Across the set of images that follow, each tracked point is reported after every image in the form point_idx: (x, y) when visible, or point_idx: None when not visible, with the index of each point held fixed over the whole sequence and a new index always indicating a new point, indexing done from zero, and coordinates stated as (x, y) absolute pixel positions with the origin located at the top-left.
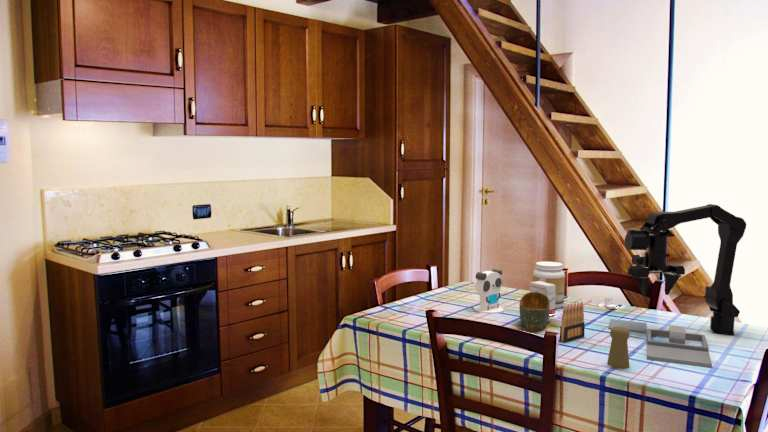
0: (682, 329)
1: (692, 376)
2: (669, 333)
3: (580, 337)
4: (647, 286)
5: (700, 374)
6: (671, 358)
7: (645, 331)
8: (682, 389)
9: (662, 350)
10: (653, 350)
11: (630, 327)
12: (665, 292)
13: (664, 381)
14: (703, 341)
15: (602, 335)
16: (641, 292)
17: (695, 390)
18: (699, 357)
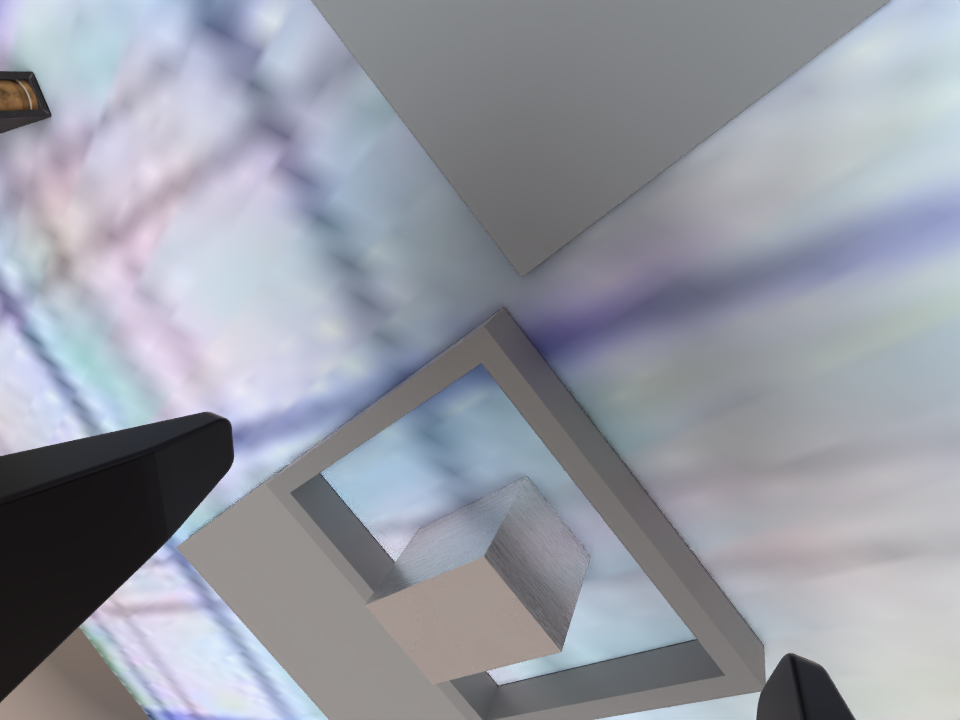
0: (486, 653)
1: (236, 695)
2: (385, 585)
3: (16, 125)
4: (2, 686)
5: (272, 710)
6: (250, 624)
7: (520, 271)
8: (149, 691)
9: (284, 564)
10: (244, 537)
11: (496, 93)
12: (782, 705)
13: (135, 645)
14: (577, 705)
15: (172, 139)
16: (129, 439)
17: (176, 716)
18: (370, 702)
